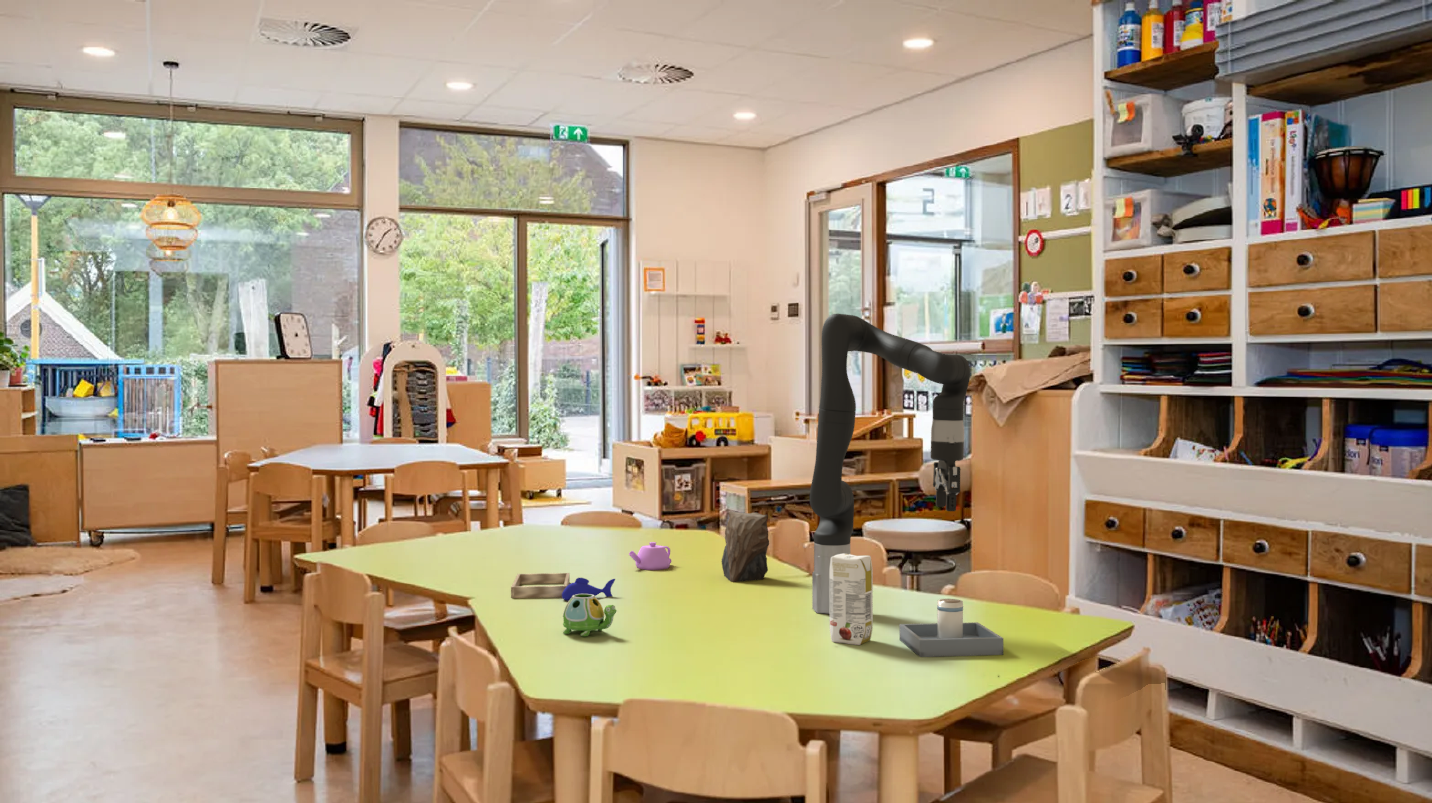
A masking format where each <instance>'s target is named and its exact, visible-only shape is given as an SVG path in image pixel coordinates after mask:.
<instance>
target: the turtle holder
mask: <svg viewBox="0 0 1432 803" xmlns="http://www.w3.org/2000/svg"><path fill="white" fill-rule="evenodd" d="M616 613H617V609H616V606H615V605H614V604H608V605H605V606H604V609H603V606H602V603H601V602H600V600H599V599H598V598H597V597H596V596H594V595H592V594H576V595H573V596H572V598H571V599H570V600H569V601H567V602H566V604H565V607H564V609H563V613H562V617H563V618H562V620H563V623H562V625H563V627H564V628H565V629H564V630H563V631H562V634H565V635H566V634H567V635H569V634H571V632H572V631H582V632H581V633H580V634H579V635H580V636H581V637H589V635H590V633H591V631H595V630H596V631H599V632H600V631H603V630H606V629H607V630H608V628H610V627H611V625H612V624H613V621H614V616H615V614H616Z"/></svg>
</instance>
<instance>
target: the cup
mask: <svg viewBox="0 0 1432 803" xmlns="http://www.w3.org/2000/svg"><path fill="white" fill-rule="evenodd" d="M936 608H937V610H936V611H937V639H953V638H963V623H964V601H963V600H961V599H958V598H941V599H940V598H939V599H937V607H936Z"/></svg>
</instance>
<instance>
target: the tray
mask: <svg viewBox="0 0 1432 803" xmlns="http://www.w3.org/2000/svg"><path fill="white" fill-rule="evenodd" d="M899 641H900V642H901V643H903V644H904V645H905V646H906V647H908V648H909V650H911V651H912V652H913V653H915V655H917V656H918V657H920V658H930V657H932V658H933V657H936V658H937V657H963V656H964V657H965V656H966V657H969V656H970V657H973V656H974V657H975V656H1000V655H1001V656H1003V655H1004V637H1003V636H1001V635H1000V634H997V633H996V632H994V631H993V630H991V629H989V628H988V627H986V626H985V625H982V624H981V623H979V622H977V621H975V622H974V621H973V622H963V638H953V639H937V623H935V622H933V623H899Z"/></svg>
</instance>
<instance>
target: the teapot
mask: <svg viewBox="0 0 1432 803" xmlns="http://www.w3.org/2000/svg"><path fill="white" fill-rule="evenodd" d="M666 549H667V550H666ZM670 555H671V548H670V547H669V546H667V545H657V542H655V541H650V542H649V545H642V546H641V547H640V549H639V550H638V552H637V554H636V552H635V551H634V550H631V551H629V553H628V556H630V557H631V559H632V560H633V561H634V562H635V566H636V568H638V569H641V570H646V571H660V570H665V569H669V567H670V566H671V564H672V559H671V558H670Z"/></svg>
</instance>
